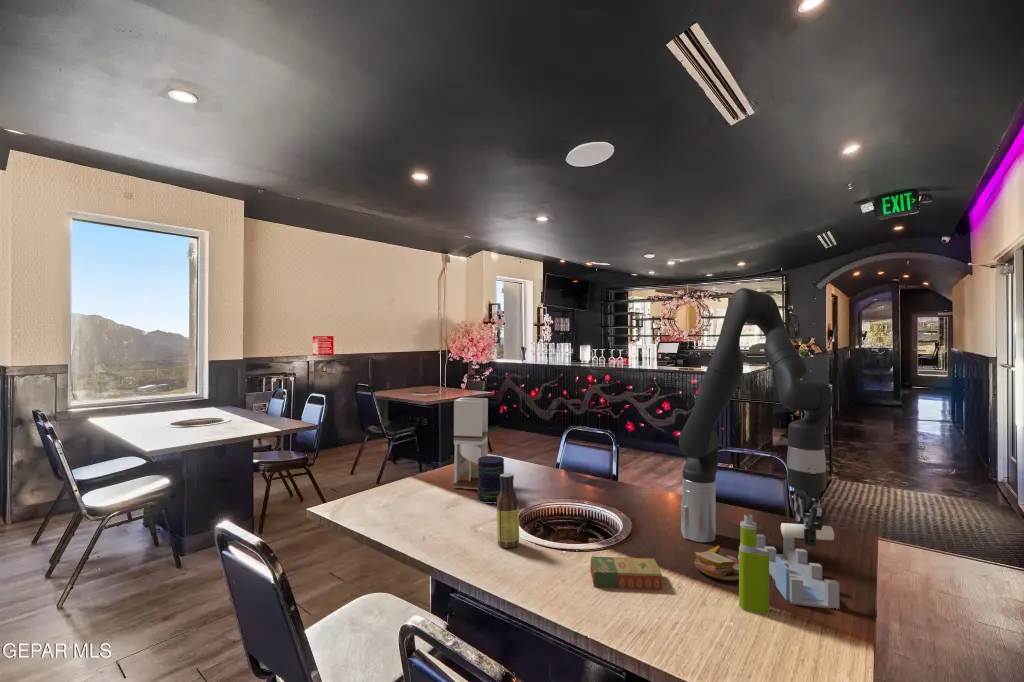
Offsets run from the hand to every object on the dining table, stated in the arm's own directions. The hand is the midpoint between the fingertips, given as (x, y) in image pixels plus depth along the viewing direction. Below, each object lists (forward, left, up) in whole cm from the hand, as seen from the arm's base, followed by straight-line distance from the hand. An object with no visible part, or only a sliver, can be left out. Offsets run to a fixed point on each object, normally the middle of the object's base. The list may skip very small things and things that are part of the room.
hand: (806, 541), depth 107 cm
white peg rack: (0, +8, -12) cm, 15 cm away
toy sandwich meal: (-17, +9, -13) cm, 23 cm away
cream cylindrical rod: (0, 0, +1) cm, 1 cm away
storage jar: (-87, +50, -12) cm, 101 cm away
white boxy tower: (-99, +65, -12) cm, 119 cm away
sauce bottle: (-73, +13, -12) cm, 75 cm away
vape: (-14, -8, -12) cm, 20 cm away
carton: (-41, -1, -13) cm, 43 cm away
